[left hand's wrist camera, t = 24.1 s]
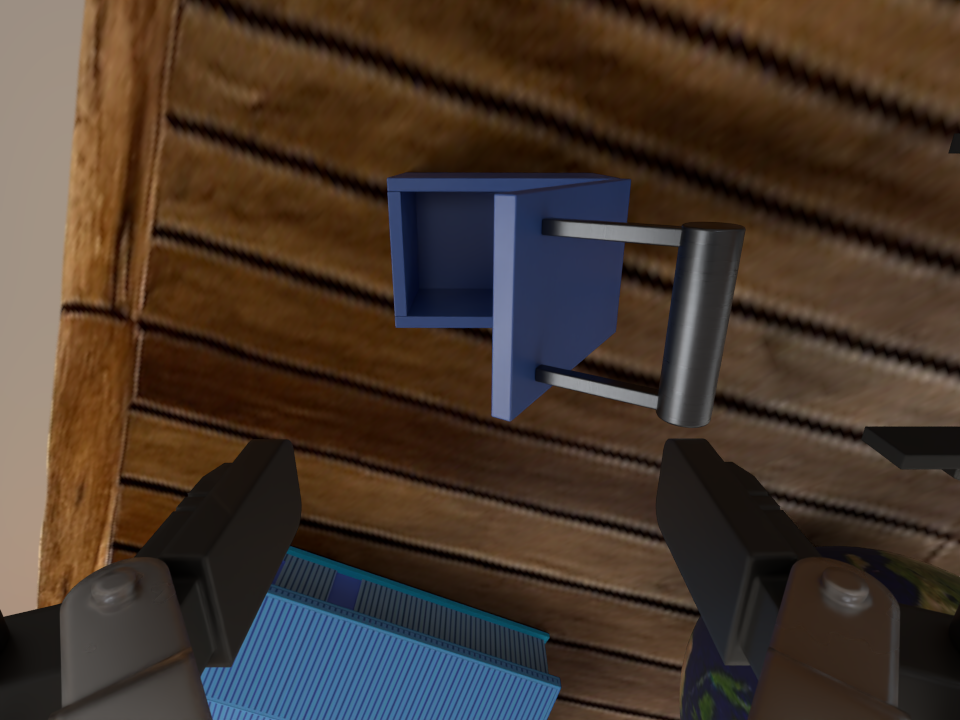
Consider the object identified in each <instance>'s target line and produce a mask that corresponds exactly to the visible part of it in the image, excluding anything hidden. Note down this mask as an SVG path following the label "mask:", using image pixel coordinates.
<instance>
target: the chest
mask: <svg viewBox="0 0 960 720" xmlns="http://www.w3.org/2000/svg"><path fill="white" fill-rule="evenodd" d="M608 179H620V178H616V177H611V176H605V175H600V174H595V173H403V174H399V175H396V176H392V177H389V178H387V189H388V191H389V192H388V207H389V224H390V240H391V257H392V274H393V291H394V308H395V324H396V328H493V248H494V194H496V193H503V192H511V191H519V190H527V189H535V188H544V187H552V186H560V185H568V184H576V183H584V182H592V181H600V180H608Z"/></svg>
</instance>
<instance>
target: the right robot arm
mask: <svg viewBox="0 0 960 720" xmlns="http://www.w3.org/2000/svg"><path fill="white" fill-rule="evenodd" d="M949 153H960V134H954V137H953V140H952V143H951V146H950V150H949ZM861 440H863V441H864V442H865V443H867V444H868V445H869V446H871V447H872V448H873V449H875V450H876V451H877V452H879V453H880V454H881V455H882V456H884V457H885V458H886V459H888V460H889V461H890V462H892V463H893V464H894V465H896V466H897V467H898V468H900V469H942V470H943V471H945V472H946V473H947V474H949V475H950V476H952V477H953V478H955V479H957V480H960V427H865V430H864V433H863V436H862V439H861Z"/></svg>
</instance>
